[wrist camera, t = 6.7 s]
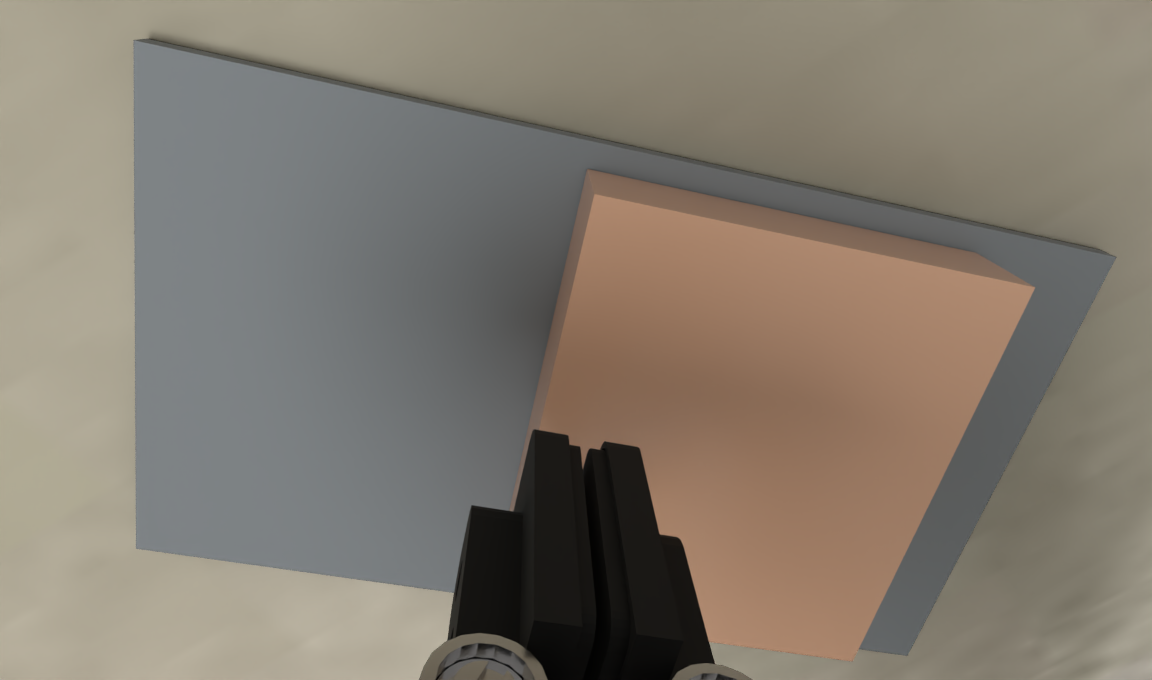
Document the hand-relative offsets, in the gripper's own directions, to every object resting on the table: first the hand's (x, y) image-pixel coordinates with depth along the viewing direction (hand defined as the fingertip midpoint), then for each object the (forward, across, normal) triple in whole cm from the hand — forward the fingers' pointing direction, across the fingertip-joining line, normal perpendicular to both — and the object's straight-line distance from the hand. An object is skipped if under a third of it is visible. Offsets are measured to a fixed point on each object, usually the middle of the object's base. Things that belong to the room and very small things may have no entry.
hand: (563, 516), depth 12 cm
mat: (+5, -1, 0) cm, 5 cm away
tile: (+4, 0, 0) cm, 4 cm away
